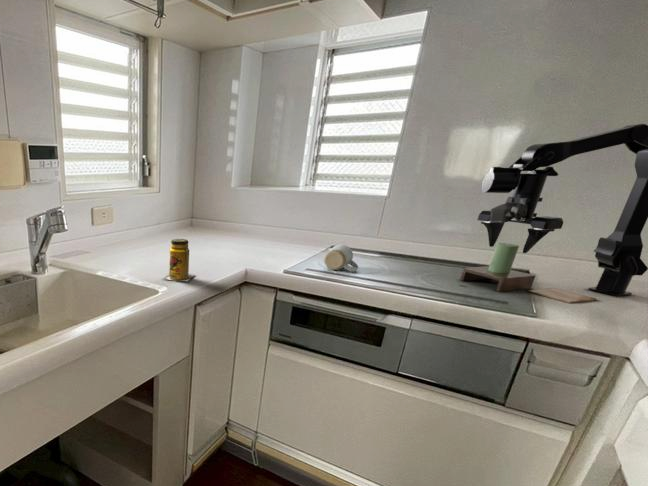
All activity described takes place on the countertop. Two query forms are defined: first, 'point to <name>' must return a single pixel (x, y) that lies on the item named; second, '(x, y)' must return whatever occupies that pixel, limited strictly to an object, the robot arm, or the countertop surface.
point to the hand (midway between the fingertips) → (507, 249)
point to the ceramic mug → (340, 258)
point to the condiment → (179, 261)
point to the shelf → (500, 278)
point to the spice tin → (503, 258)
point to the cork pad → (562, 295)
